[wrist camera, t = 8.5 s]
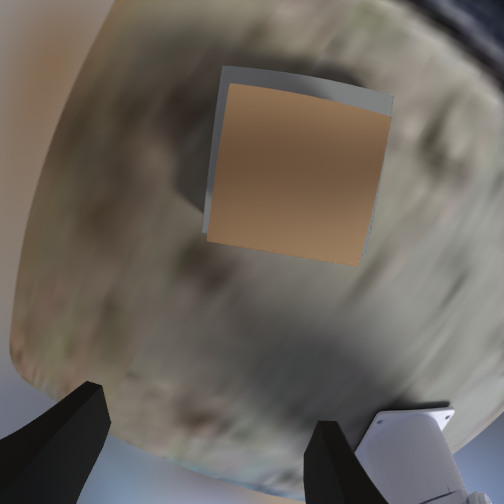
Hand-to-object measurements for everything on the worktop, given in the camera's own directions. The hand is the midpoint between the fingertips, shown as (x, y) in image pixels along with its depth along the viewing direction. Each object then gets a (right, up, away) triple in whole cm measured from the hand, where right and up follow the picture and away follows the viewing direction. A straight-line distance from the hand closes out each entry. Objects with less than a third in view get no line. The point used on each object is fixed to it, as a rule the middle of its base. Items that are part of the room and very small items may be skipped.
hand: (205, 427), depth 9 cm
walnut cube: (+3, +10, +5) cm, 11 cm away
